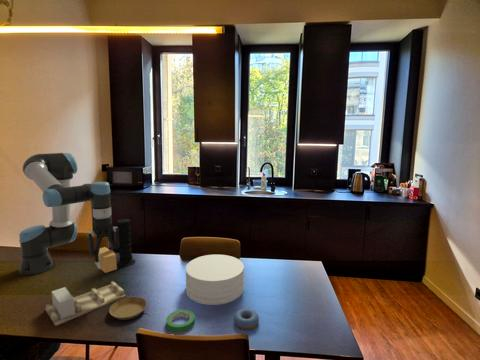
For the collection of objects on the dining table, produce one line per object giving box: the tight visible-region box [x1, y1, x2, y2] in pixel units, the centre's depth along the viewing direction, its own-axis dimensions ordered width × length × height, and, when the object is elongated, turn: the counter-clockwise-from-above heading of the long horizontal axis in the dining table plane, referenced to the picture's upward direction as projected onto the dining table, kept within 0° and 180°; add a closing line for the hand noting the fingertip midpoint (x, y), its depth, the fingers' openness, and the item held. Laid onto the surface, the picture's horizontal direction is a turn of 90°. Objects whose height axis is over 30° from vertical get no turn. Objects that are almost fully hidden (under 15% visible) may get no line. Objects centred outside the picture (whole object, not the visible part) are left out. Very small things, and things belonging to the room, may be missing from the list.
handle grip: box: [116, 218, 136, 268], centre depth 163 cm, size 10×26×10 cm
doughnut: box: [233, 308, 260, 330], centre depth 112 cm, size 10×10×5 cm
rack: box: [45, 280, 127, 327], centre depth 125 cm, size 15×28×3 cm, turn 136°
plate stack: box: [185, 254, 245, 306], centre depth 137 cm, size 28×28×12 cm
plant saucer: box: [108, 296, 148, 321], centre depth 119 cm, size 15×15×3 cm
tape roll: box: [165, 309, 196, 334], centre depth 112 cm, size 11×11×3 cm
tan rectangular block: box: [94, 246, 118, 274], centre depth 129 cm, size 12×5×7 cm, turn 46°
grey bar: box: [51, 286, 75, 319], centre depth 118 cm, size 12×5×7 cm, turn 46°
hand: (105, 265), depth 129 cm, fingers closed on tan rectangular block, 5 cm apart
